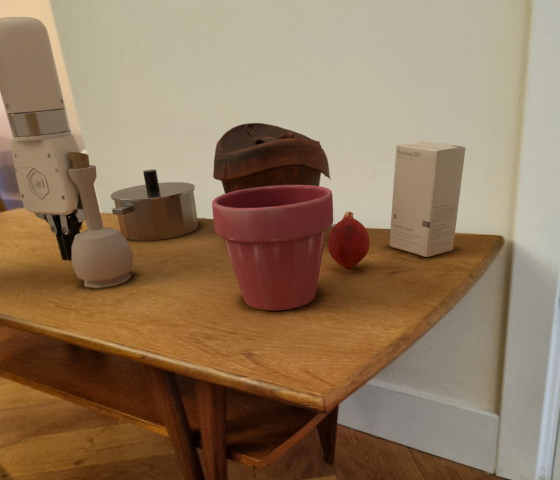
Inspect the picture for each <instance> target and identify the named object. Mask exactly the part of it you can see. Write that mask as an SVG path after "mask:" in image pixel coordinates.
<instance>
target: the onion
mask: <svg viewBox="0 0 560 480" xmlns="http://www.w3.org/2000/svg"><path fill="white" fill-rule="evenodd" d="M370 244H371V243H370V236H369V231H368V229H367V228H366V227H365V226H364V224H363V223H362V222H360V221H359V220H357V219H356V218H354V212H352V211H350V210H347V211H345V213H344V214H343V217H342V219H341V220H339V221H338V222H337V223H336V224H334V225H333V227H332V228H331V230H330V233H329V235H328V237H327V250H328V253H329V255H330V257H331V258H332V259H333V260H334V262H336V263H337V264H338V265H340V266H341V267H342V268H345V269H346V270H351V269H353V268H355V266H356V265H358V264H359V263H360V262H362V260H363V259H365V257H366V256H367V254H368V253H369V250H370Z"/></svg>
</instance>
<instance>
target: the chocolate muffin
mask: <svg viewBox="0 0 560 480" xmlns="http://www.w3.org/2000/svg"><path fill="white" fill-rule="evenodd" d="M322 175H324V177H327V178H328V179H329V181H332V179H331V175H330V165H329V160H328V157H327V154H326V151H325V150H324V148H322V144H321V142H320V141H319V140H315V139H313V138H310V137H309V136H307V135H304V134H303V133H300V132H297V131H294V130H291V129H287V128H283V127H280V126H278V125H274V124H268V123H263V122H251V123H250V122H249V123H243V124H238V125H237V126H234V127H232V128H230V129H228V130H227V131H225V132H224V134H222V136H221V137H220V139H219V140H218V141H217V143H216V144H215V152H214V159H213V174H212V177H213V179H214V180H216V181H220V182H221V185H222V188H223V192H224V194H226V193H229V192H233V191H238V190H243V189H249V188H256V187H265V186H279V185H313V186H320V183H321V178H322V177H321V176H322Z"/></svg>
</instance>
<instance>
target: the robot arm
mask: <svg viewBox="0 0 560 480" xmlns="http://www.w3.org/2000/svg"><path fill="white" fill-rule="evenodd" d="M0 95H1V100H2V102H3V103H2V104H3V107H4V110H5V113H6V117H7V120H8V124H9V128H10V131H11V135H12V139H11V140H10V141H11V142H10V143H11V144H10V145H11V155H12V162H13V167H14V173H15V177H16V182H17V186H18V191H19V194H20V198H21V202H22V205H23V207H24V209H25V210H26V211H28V212H29V213H31V214H34V215H35V217H36V218H39V219H40V220H43V221H46V223H47V224H48V225H49V228H50V231H51V232H52V233H53V234H55V239H56V242H57V245H58V250H59V252H60V257H61V260H62V261H68V262H72V244H73V241H74V238H75V235H77V234H79V233H81V230H82V229H83V223H84V222H86V219H85V214H84V210H83V206H82V202H81V198H80V194H79V189H78V186H77V185H76V184H75V183H74V182H73V181H72V180H71V178H70V175H69V172H68V170H67V169H71V168H72V166H71V163H70V160H69V157H68V154H67V153H68V152H78V153H81V150H80V147H79V145H78V143H77V140H76V138H75V136H74V134H73V133H72V130H71V125H70V121H69V117H68V113H67V108H66V103H65V100H64V95H63V91H62V87H61V82H60V78H59V73H58V70H57V66H56V61H55V57H54V52H53V48H52V44H51V40H50V36H49V32H48V29H47V27H46V25H45V24H44V23H43V21H42V20H40V19H38V18H35V17H32V16H31V17H30V16H5V17H0Z"/></svg>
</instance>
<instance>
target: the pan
mask: <svg viewBox="0 0 560 480" xmlns="http://www.w3.org/2000/svg"><path fill="white" fill-rule="evenodd" d="M194 191H195V190H194ZM194 191H193V192H191V193H188V194H186V195H182V196H179V197H174V198H169V199H163V200H156V201H146V202H119V201H114V200H113V201H114V202H113V203H114V206H115V207H113V208H111V212H112V215H117V220H118V221H117V222H118V226H119V231H120V233H121V234H122V235H123V236H124V237H125V238H126V239H127V241H128V240H130V241H137V242H139V241H140V242H147V241H162V240H167V239H172V238H173V239H174V238H177V237H181V236H185V235H187V234H190V233H192V232H194V231H196V230H197V229H198V227H199V220H198V214H197V205H196V198H195V192H194Z"/></svg>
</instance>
